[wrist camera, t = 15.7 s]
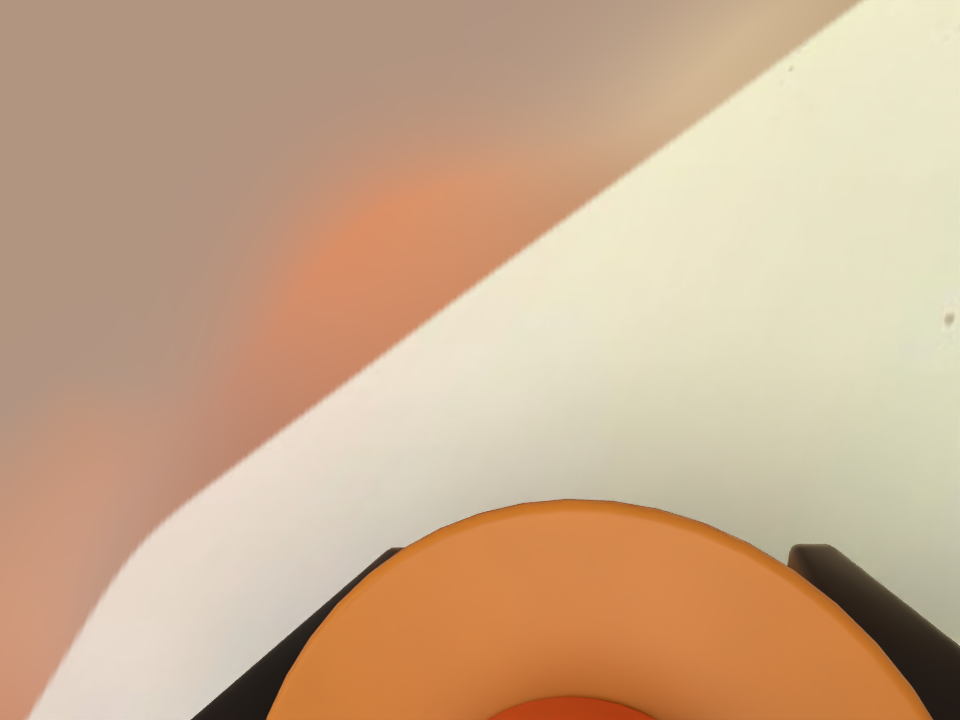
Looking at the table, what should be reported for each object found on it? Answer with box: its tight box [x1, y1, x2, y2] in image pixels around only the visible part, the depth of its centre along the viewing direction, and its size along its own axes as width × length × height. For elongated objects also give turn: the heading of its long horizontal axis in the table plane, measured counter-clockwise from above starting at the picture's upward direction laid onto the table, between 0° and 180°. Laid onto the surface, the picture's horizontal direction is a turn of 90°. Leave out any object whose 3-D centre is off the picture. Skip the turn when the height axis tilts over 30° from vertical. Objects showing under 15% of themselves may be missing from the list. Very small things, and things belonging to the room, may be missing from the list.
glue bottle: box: [266, 499, 933, 720], centre depth 9 cm, size 4×4×12 cm
